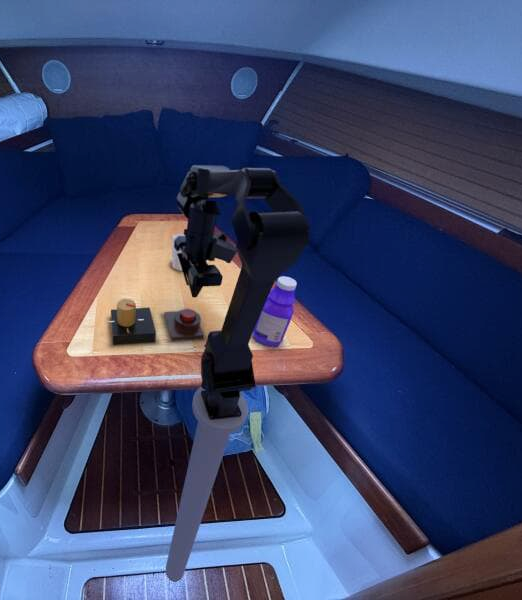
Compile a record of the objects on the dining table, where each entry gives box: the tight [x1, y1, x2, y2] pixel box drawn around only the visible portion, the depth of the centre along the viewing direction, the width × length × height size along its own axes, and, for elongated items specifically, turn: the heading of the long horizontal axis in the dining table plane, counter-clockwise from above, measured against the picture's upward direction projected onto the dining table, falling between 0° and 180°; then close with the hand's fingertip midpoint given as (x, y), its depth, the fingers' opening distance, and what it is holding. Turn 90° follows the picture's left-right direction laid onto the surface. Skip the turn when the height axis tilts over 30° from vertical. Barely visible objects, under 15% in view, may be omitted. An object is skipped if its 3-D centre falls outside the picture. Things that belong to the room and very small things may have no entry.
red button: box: [181, 308, 197, 323], centre depth 80 cm, size 4×4×2 cm
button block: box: [163, 309, 205, 342], centre depth 81 cm, size 10×8×3 cm
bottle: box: [252, 275, 298, 348], centre depth 75 cm, size 7×6×17 cm
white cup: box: [171, 233, 185, 272], centre depth 105 cm, size 8×8×10 cm
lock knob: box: [116, 298, 137, 327], centre depth 76 cm, size 4×4×5 cm
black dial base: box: [107, 307, 157, 346], centre depth 79 cm, size 10×11×3 cm
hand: (191, 290), depth 76 cm, fingers open, 5 cm apart
